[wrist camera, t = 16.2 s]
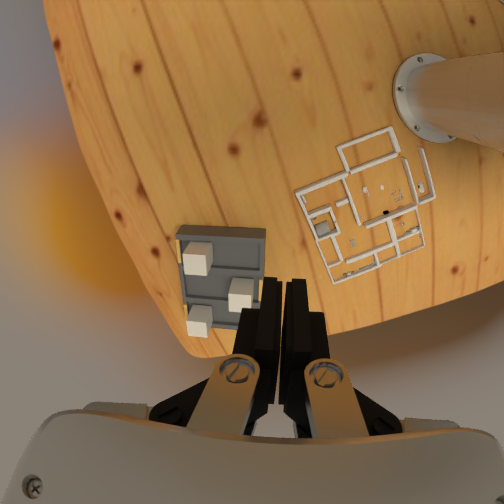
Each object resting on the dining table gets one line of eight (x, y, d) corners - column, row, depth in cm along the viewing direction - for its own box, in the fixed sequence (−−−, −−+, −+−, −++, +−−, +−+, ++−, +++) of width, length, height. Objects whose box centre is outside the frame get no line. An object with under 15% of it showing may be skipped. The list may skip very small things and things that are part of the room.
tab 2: (211, 306, 46) (205, 322, 42) (212, 320, 47) (207, 337, 44) (192, 304, 46) (186, 320, 42) (194, 319, 47) (188, 335, 44)
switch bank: (265, 228, 42) (264, 239, 39) (262, 318, 49) (260, 332, 46) (182, 225, 43) (174, 234, 40) (191, 312, 50) (186, 325, 47)
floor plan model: (391, 77, 31) (396, 75, 29) (439, 237, 40) (444, 243, 39) (262, 126, 36) (261, 127, 34) (332, 280, 46) (334, 287, 44)
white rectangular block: (212, 241, 41) (205, 255, 37) (213, 260, 42) (206, 276, 38) (191, 240, 41) (182, 253, 37) (192, 259, 42) (184, 274, 39)
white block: (253, 278, 43) (251, 295, 39) (253, 296, 44) (250, 313, 41) (232, 277, 43) (228, 293, 39) (233, 294, 44) (228, 311, 41)
